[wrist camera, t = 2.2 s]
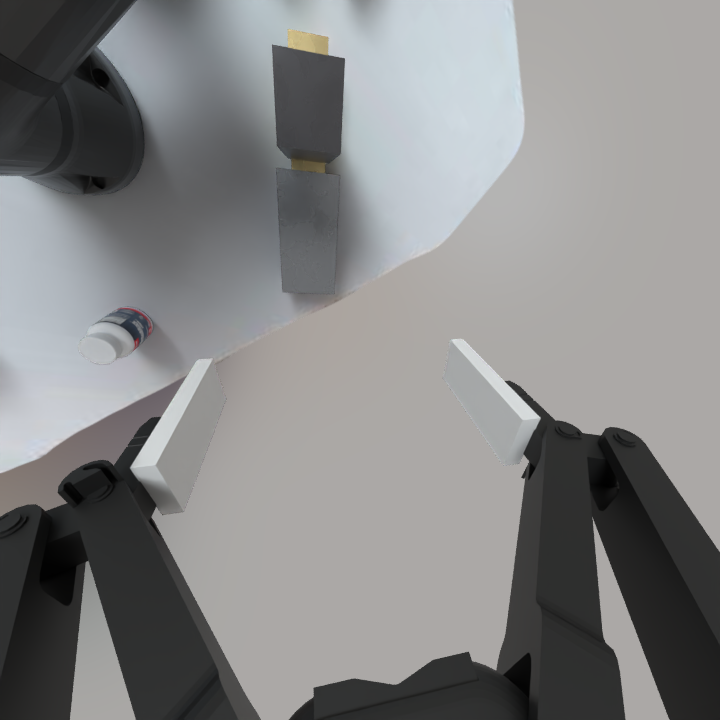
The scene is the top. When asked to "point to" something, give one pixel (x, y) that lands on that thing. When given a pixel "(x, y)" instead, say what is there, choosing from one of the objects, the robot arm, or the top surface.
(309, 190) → the sleeve
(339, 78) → the grey yellow upright-t piece
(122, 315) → the pill bottle
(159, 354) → the top surface
